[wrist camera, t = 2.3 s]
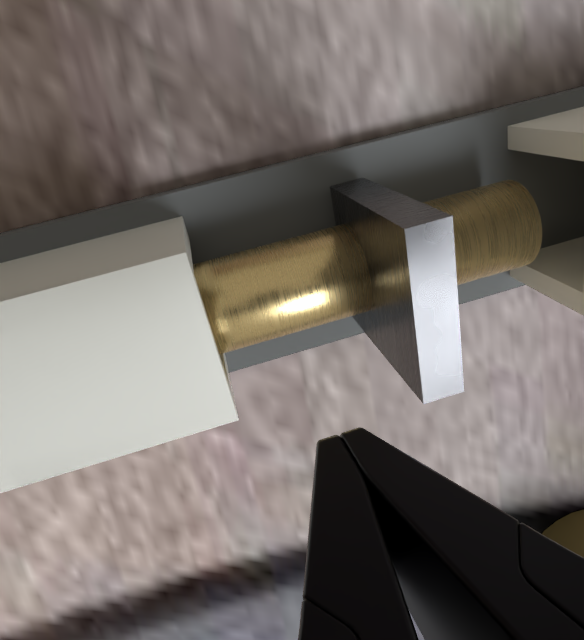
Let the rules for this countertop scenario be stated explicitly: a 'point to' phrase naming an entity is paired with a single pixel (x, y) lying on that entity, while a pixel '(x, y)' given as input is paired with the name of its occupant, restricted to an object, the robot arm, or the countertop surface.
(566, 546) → the cork
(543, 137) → the socket
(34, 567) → the countertop surface
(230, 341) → the bolt
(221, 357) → the sleeve
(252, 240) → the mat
